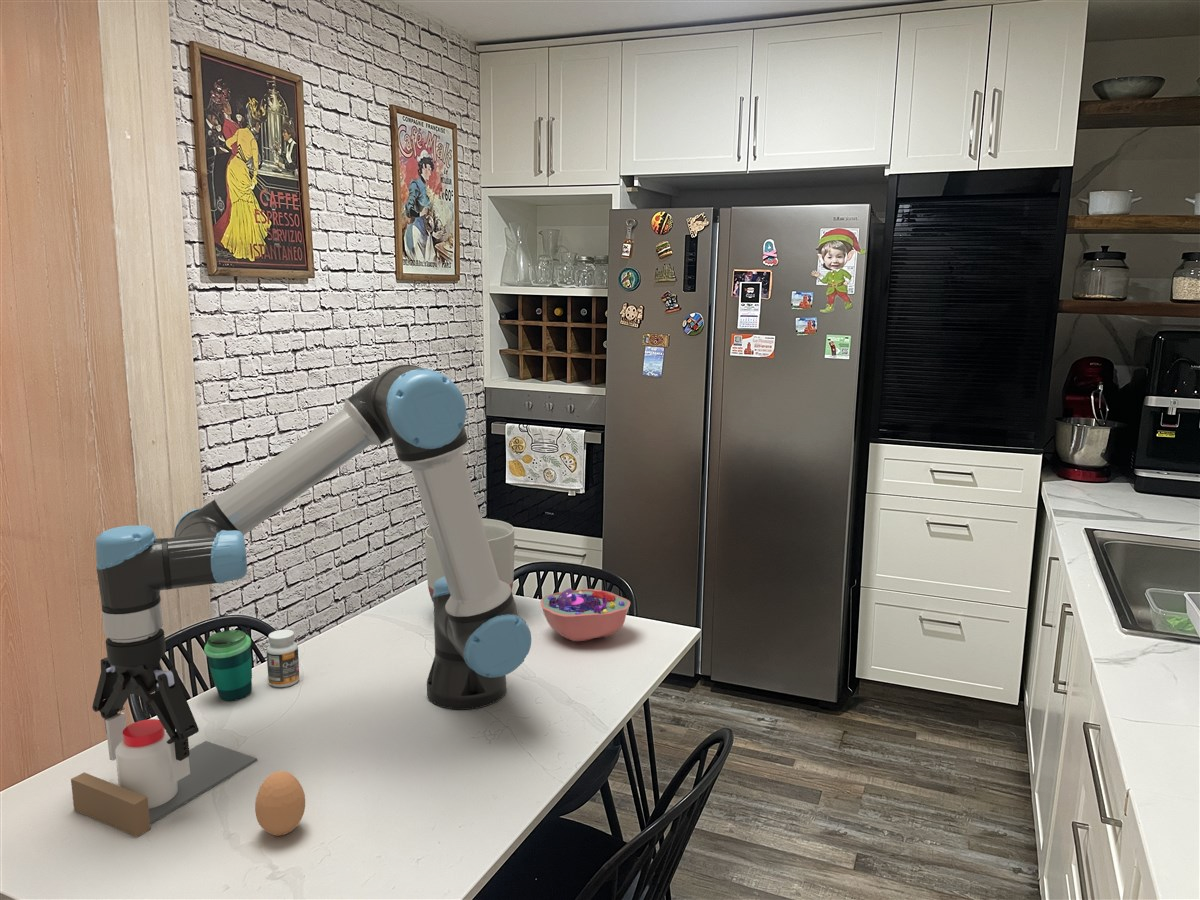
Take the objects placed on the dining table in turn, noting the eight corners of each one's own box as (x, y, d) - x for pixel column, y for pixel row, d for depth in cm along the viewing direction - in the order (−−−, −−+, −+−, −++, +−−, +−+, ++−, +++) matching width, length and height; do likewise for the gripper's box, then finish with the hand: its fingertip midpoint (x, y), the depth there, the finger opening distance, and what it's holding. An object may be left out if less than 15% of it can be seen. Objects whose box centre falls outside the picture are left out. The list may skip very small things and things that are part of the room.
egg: (250, 847, 118) (245, 786, 116) (266, 818, 125) (262, 760, 123) (299, 846, 118) (295, 785, 117) (312, 817, 125) (309, 759, 123)
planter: (414, 630, 194) (411, 539, 190) (444, 599, 214) (442, 516, 210) (501, 637, 191) (500, 544, 187) (524, 605, 210) (523, 520, 206)
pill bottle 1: (134, 782, 133) (128, 716, 131) (186, 780, 133) (180, 714, 131) (110, 811, 125) (103, 742, 123) (165, 809, 126) (159, 740, 124)
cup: (264, 691, 164) (260, 632, 162) (230, 710, 156) (225, 648, 154) (233, 683, 167) (229, 625, 165) (198, 701, 160) (193, 640, 158)
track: (261, 761, 139) (259, 733, 139) (137, 837, 120) (134, 804, 119) (201, 741, 145) (199, 714, 145) (74, 810, 126) (70, 779, 125)
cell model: (630, 653, 183) (631, 603, 181) (536, 652, 183) (536, 601, 181) (629, 623, 199) (629, 576, 197) (543, 622, 200) (543, 575, 198)
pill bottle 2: (289, 689, 165) (286, 640, 163) (262, 686, 166) (259, 638, 164) (305, 677, 170) (302, 629, 168) (278, 674, 171) (276, 627, 169)
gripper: (216, 638, 122) (229, 774, 126) (103, 610, 133) (118, 736, 137) (170, 658, 116) (184, 801, 120) (55, 627, 127) (72, 759, 131)
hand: (149, 766), depth 129 cm, fingers open, 13 cm apart
